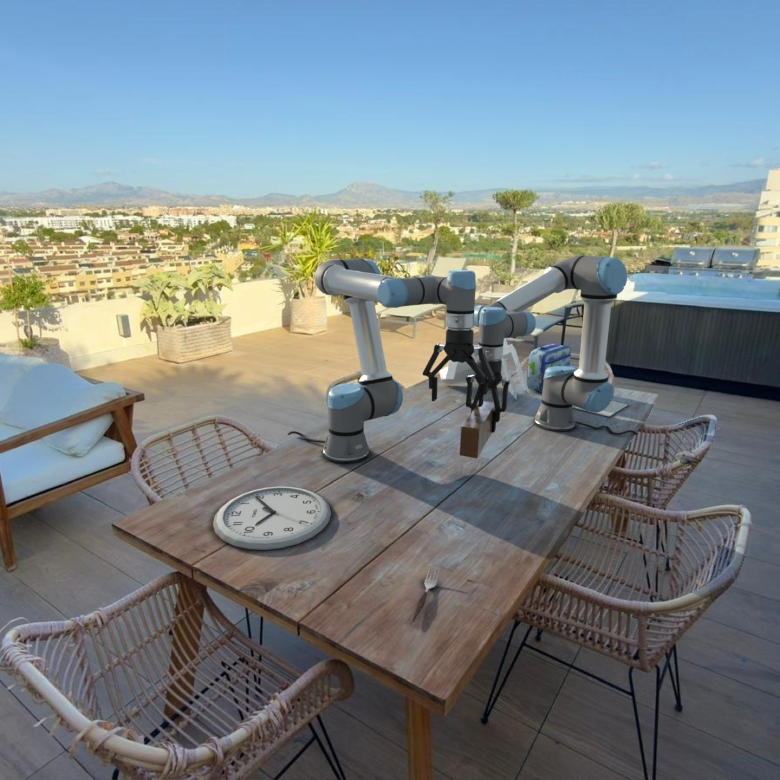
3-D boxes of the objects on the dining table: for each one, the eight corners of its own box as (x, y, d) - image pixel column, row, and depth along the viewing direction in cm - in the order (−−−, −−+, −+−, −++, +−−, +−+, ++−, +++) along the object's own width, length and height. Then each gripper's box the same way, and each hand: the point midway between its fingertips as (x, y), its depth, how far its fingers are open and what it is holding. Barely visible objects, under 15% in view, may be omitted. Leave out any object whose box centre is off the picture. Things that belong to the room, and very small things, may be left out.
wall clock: (329, 541, 123) (198, 546, 121) (329, 547, 124) (199, 552, 121) (332, 482, 152) (226, 484, 149) (332, 487, 152) (226, 489, 150)
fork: (406, 621, 101) (406, 613, 100) (428, 573, 115) (429, 565, 115) (419, 625, 100) (419, 616, 99) (440, 576, 114) (440, 568, 114)
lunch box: (542, 396, 239) (547, 351, 232) (522, 391, 246) (526, 347, 240) (570, 385, 256) (575, 343, 250) (550, 380, 263) (554, 339, 257)
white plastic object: (461, 429, 252) (437, 405, 227) (444, 352, 274) (420, 323, 250) (535, 404, 240) (518, 377, 215) (510, 326, 262) (492, 293, 237)
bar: (478, 426, 170) (480, 400, 168) (494, 428, 168) (496, 402, 166) (459, 455, 148) (461, 426, 146) (477, 458, 147) (479, 429, 144)
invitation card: (608, 416, 214) (573, 407, 224) (608, 416, 214) (573, 408, 224) (628, 404, 229) (594, 396, 238) (628, 405, 229) (594, 397, 238)
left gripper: (412, 327, 144) (411, 401, 150) (503, 333, 134) (498, 411, 140) (421, 323, 150) (420, 394, 156) (508, 329, 141) (503, 403, 147)
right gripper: (457, 358, 159) (453, 429, 166) (517, 364, 153) (511, 438, 160) (463, 353, 166) (459, 421, 173) (521, 359, 159) (515, 430, 166)
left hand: (457, 402), depth 148 cm, fingers open, 13 cm apart
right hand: (484, 429), depth 166 cm, fingers closed on bar, 5 cm apart
